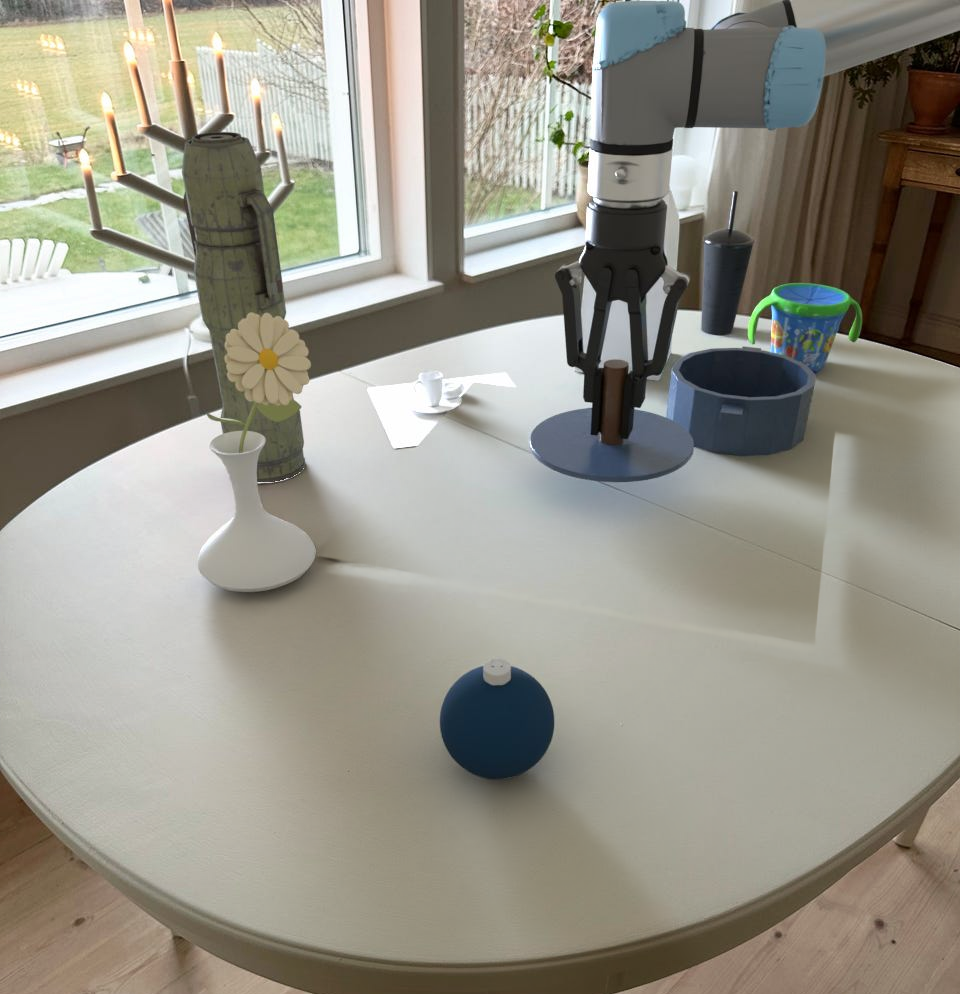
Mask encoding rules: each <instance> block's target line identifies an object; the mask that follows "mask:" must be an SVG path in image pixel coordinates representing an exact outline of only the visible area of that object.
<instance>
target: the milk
mask: <svg viewBox="0 0 960 994" xmlns="http://www.w3.org/2000/svg"><path fill="white" fill-rule="evenodd" d="M662 199H663V200H664V201H665V203H666V204H667V215H666V226H665V237H664V253H665V256H666V258H667V262H668V264H667V265H668V266H670V267H671V268H673V269H674V270H676V271H678V257H679V256H678V254H679V242H680V227H681V226H680V214H679V211H678V208H677V205H676V201H675V198H674V196H673V192H672V190H671V186H670V185H669V192H668V194H667V195H666V196H665V197H664V198H662ZM663 285H664V280H663V278H661V277H660V278H659V280H658V281H657V282H656V283H655V284H654V286H653V287H652V288H651V289H650V290H649V292H648V293H647V294H646V322H647V343H648V360H652V359H653V355H654V350H655V345H656V340H657V335H658V330H659V325H660V320H661V315H662V310H663V306H664V302H665V299H666V297H667V295H668V294H666V293H665V292H664V291H663ZM595 298H596V292H595V291H594V289H593V287H592V286H591V284H590V282H589V281H588V279H587V277H586V276H585V275H584V279H583V286H582V296H581V318H582V334H583V351H584V353H586V352H587V346H588V341H589V335H590V330H591V325H592V319H593V314H594V303H595ZM672 344H673V337H672V338H671V343H670V348H669V352H668V357H667V362H666V364H667V363H668V361H669V358H670V356H671V354H672ZM614 359H617V360H624V361H626V362H628V363H629V370H628V374H629V372H630V371H632V356H631V338H630V320H629V313H628V304H627V303H626V302H623V301H620V300H616V301H612V304H611V307H610V313H609V318H608V323H607V328H606V333H605V339H604V344H603V349H602V354H601V359H600V360H601V362H600V364H599V368H604V362H606V361H608V360H614ZM665 368H666V366H665V367H664V369H663V371H662V373H661V374H660V375H658V376H655V375H652V376H648V377H647V381H658V382H659V381H660V379H661V376H662V375H663V372H664V371H665ZM574 373H582V374H584V373H583V371H582V370H581V369H579V368H577V367H574Z"/></svg>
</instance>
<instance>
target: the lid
mask: <svg viewBox="0 0 960 994" xmlns="http://www.w3.org/2000/svg"><path fill="white" fill-rule="evenodd" d="M628 370H629V363H628V362H626V361H624V360H617V359H614V360H608V361H606V362H604V368H603V385H602V402H601V418H600V432H599V434H598V435H597V436H596V435H591V417H592V407H586V408H577V409H574V410H573V409H572V410H569V411H564V412H560V413H558V414H555V415H552V416H550V417H548V418H546V419H544V420H542V421H541V422H540V423H538V424H537V425H536V426H535V427H534V428H533V430H532V431H531V433H530V436H529V450H530V452H531V454H532V455H533V456H534V458H535V459H536V460H537V461H539V463H541V464H543V465H544V466H545V467H546V468H549V469H551V470H553V471H555V472H557V473H560V474H562V475H565V476H569V477H571V478H576V479H581V480H586V481H591V482H592V481H594V482H601V483H602V482H604V483H631V482H640V481H648V480H652V479H657V478H660V477H663V476H666V475H669V474H672V473H674V472H676V471H677V470H679V469H681V468H682V467H684V466H685V465H687V463H688V462H689V461H690V460H691V458H692V456H693V454H694V449H695V447H694V441H693V438H692V436H691V435H690V433H689V432H688V431H687V430H686V429H685V428H684V427H682V426H681V425H680V424H678V423H676V422H674V421H673V420H670V419H668V418H666V416H663V415H660V414H657V413H653V412H649V411H645V410H641V409H637V408H636V409H635V408H634V419H633V430H632V432H631V434H630V436H629V438H628V439H621V428H622V414H623V401H624V387H625V379H626V377H627V376H628Z"/></svg>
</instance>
